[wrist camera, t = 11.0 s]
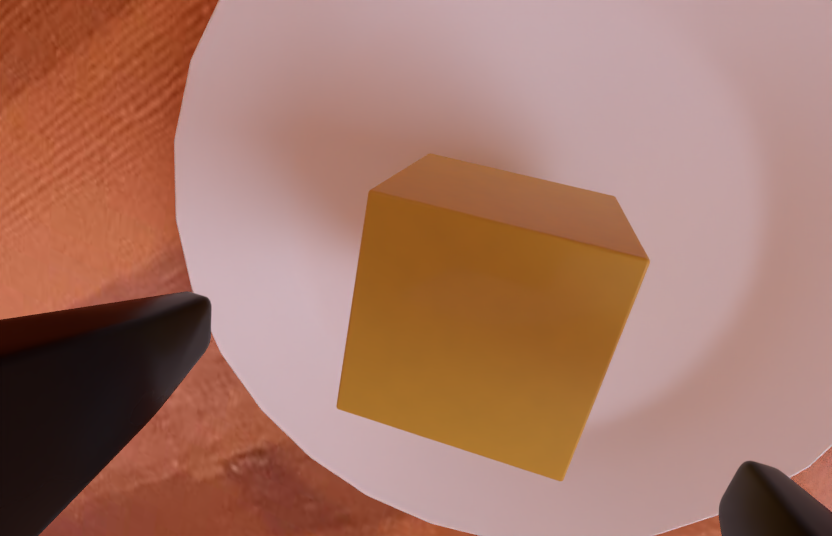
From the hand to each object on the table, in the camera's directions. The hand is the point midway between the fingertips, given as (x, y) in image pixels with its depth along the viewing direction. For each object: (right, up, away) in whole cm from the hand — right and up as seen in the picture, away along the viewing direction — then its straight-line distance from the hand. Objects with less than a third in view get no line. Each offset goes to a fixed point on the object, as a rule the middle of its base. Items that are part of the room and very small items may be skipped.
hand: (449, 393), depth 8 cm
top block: (+2, +2, +6) cm, 7 cm away
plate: (+2, +3, +8) cm, 9 cm away
